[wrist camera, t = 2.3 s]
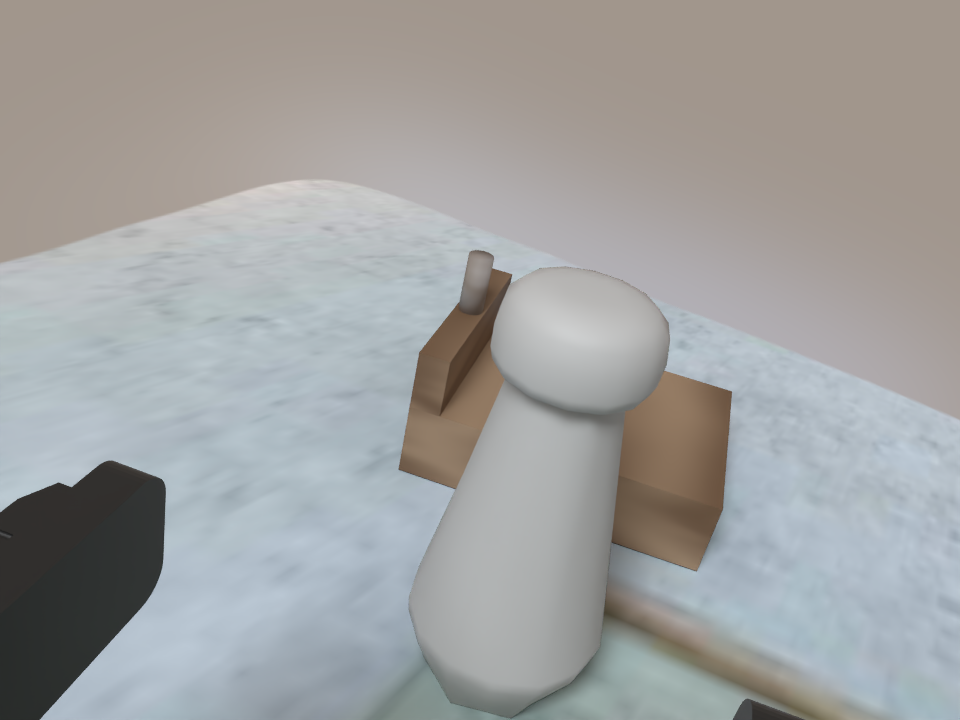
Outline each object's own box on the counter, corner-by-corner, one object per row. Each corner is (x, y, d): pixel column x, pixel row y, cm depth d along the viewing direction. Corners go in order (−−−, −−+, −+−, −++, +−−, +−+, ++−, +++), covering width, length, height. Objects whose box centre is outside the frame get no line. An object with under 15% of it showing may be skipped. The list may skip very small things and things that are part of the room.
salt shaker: (567, 600, 30) (679, 259, 24) (597, 748, 26) (748, 369, 19) (398, 585, 30) (468, 226, 23) (396, 736, 25) (483, 333, 18)
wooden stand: (710, 445, 41) (769, 295, 37) (696, 571, 33) (769, 398, 29) (465, 367, 43) (497, 217, 39) (398, 469, 35) (429, 294, 31)
